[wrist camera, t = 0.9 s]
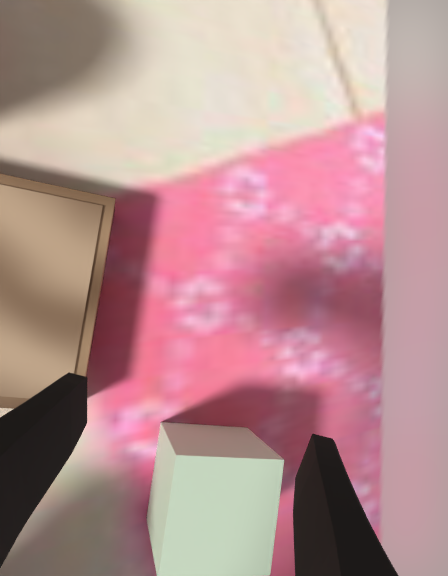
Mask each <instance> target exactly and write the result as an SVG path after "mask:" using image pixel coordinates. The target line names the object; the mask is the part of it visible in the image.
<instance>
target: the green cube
mask: <svg viewBox="0 0 448 576" xmlns="http://www.w3.org/2000/svg"><path fill="white" fill-rule="evenodd" d="M283 466H284V459H283V458H282V457H280V456H279V455H278V454H277V453H276V452H275V451H274V450H272V449H271V448H270V447H269V446H268V445H267V444H266V443H264V442H263V441H262V440H261V439H260V438H259V437H257V436H256V435H255V434H254V433H253V432H252V431H251V430H249V429H248V428H245V427H230V426H215V425H200V424H184V423H169V422H161V424H160V431H159V437H158V444H157V451H156V457H155V464H154V470H153V477H152V484H151V490H150V497H149V504H148V510H147V517H146V519H147V525H148V530H149V536H150V541H151V547H152V552H153V558H154V563H155V569H156V574H157V576H270V572H271V564H272V556H273V548H274V539H275V531H276V523H277V515H278V507H279V499H280V491H281V483H282V474H283Z"/></svg>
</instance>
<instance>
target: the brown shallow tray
mask: <svg viewBox="0 0 448 576" xmlns="http://www.w3.org/2000/svg"><path fill="white" fill-rule="evenodd" d="M114 211H115V198H111V197H107V196H102V195H97V194H93V193H88V192H83V191H79V190H74V189H69V188H65V187H60V186H56V185H51V184H46V183H42V182H37V181H32V180H28V179H23V178H18V177H14V176H9V175H4V174H0V408H14V409H15V408H16V407H18V406H19V405H21V404H22V403H24V402H25V401H27V400H28V399H30V398H31V397H33V396H34V395H36V394H37V393H39V392H40V391H42V390H43V389H45V388H46V387H48V386H49V385H51V384H52V383H53V382H55V381H56V380H58V379H59V378H61V377H62V376H64V375H65V374H67V373H69V372H70V373H74V374H77V375H81V376H85V377H87V371H88V365H89V359H90V353H91V347H92V341H93V335H94V330H95V324H96V318H97V312H98V306H99V300H100V294H101V288H102V282H103V276H104V270H105V265H106V259H107V253H108V247H109V241H110V235H111V229H112V223H113V217H114Z"/></svg>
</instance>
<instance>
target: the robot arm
mask: <svg viewBox="0 0 448 576" xmlns="http://www.w3.org/2000/svg"><path fill="white" fill-rule="evenodd" d="M86 424H87V377H85V376H81V375H77V374H74V373H70V372H69V373H67V374H65V375H64V376H62V377H61V378H59V379H58V380H56V381H55V382H53V383H52V384H51V385H49V386H48V387H46V388H45V389H43V390H42V391H40V392H39V393H37V394H36V395H34V396H33V397H31V398H30V399H28V400H27V401H25V402H24V403H22V404H21V405H19V406H18V407H16V408H15V409H13V410H11V411H10V412H8V413H7V414H5V415H4V416H2V417H0V568H1V566H2V564H3V562H4V560H5V559H6V557H7V555H8V553H9V551H10V549H11V548H12V546H13V544H14V542H15V540H16V538H17V537H18V535H19V533H20V532H21V530H22V528H23V527H24V525H25V524H26V522H27V520H28V519H29V517H30V516H31V514H32V513H33V511H34V510H35V508H36V507H37V505H38V504H39V502H40V501H41V499H42V498H43V496H44V495H45V493H46V492H47V490H48V489H49V487H50V486H51V484H52V483H53V481H54V480H55V478H56V477H57V475H58V474H59V472H60V471H61V469H62V467H63V466H64V464H65V463H66V461H67V460H68V458H69V457H70V455H71V454H72V452H73V450H74V448H75V446H76V444H77V442H78V440H79V438H80V436H81V434H82V432H83V430H84V428H85V426H86ZM293 526H294V554H295V576H398V574H397V572H396V571H395V569H394V567H393V566H392V564H391V562H390V560H389V559H388V557H387V555H386V553H385V551H384V550H383V548H382V546H381V544H380V542H379V540H378V538H377V536H376V534H375V532H374V531H373V529H372V527H371V525H370V523H369V521H368V519H367V517H366V514H365V512H364V510H363V508H362V506H361V504H360V502H359V499H358V497H357V495H356V493H355V491H354V488H353V486H352V484H351V482H350V479H349V477H348V474H347V472H346V470H345V467H344V465H343V462H342V460H341V457H340V455H339V452H338V449H337V447H336V444H335V442H334V440H333V439H331V438H327V437H323V436H319V435H316V434H312V436H311V439H310V442H309V444H308V447H307V449H306V452H305V454H304V457H303V460H302V462H301V465H300V467H299V470H298V473H297V475H296V479H295V492H294V506H293Z"/></svg>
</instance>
